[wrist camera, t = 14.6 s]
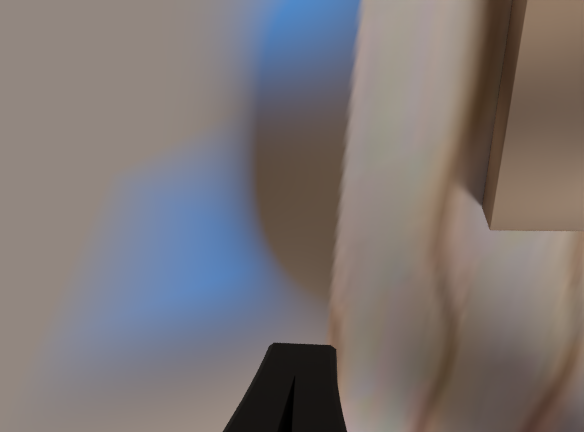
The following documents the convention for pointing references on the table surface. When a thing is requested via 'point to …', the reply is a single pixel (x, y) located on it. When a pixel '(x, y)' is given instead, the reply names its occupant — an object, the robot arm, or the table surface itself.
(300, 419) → the robot arm
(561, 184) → the press bed
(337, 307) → the table surface
